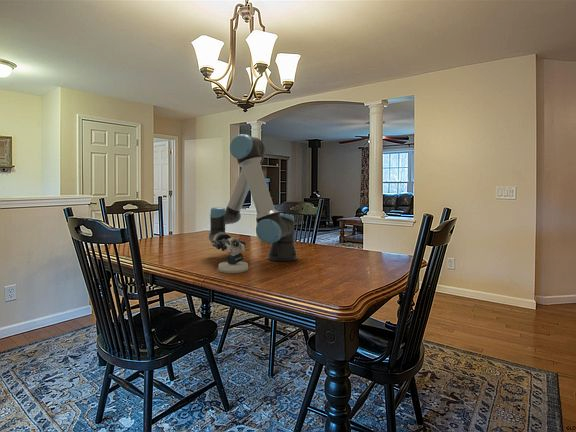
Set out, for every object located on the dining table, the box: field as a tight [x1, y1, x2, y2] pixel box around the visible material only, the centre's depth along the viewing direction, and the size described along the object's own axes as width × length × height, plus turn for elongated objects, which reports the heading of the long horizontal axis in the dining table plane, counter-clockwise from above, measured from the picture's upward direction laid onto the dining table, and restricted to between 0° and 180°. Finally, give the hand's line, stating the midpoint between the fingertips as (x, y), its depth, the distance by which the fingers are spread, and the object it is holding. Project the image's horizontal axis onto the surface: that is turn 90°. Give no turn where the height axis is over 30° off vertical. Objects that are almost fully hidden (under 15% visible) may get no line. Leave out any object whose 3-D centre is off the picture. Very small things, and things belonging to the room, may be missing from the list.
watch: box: [225, 237, 244, 264], centre depth 163 cm, size 6×8×11 cm
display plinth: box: [218, 261, 249, 274], centre depth 164 cm, size 13×13×2 cm
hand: (236, 248), depth 158 cm, fingers closed on watch, 6 cm apart
